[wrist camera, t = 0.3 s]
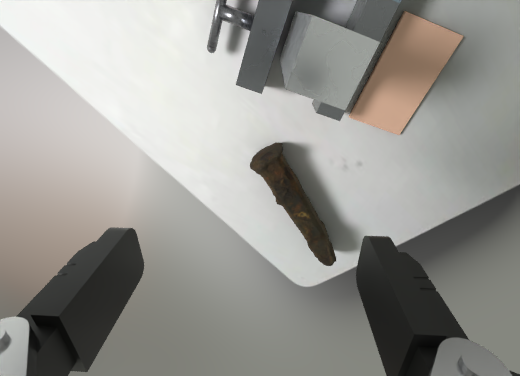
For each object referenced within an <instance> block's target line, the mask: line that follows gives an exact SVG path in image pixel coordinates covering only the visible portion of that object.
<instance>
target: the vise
mask: <svg viewBox="0 0 520 376" xmlns="http://www.w3.org/2000/svg"><path fill="white" fill-rule="evenodd" d="M226 1H227V0H217V1H216V6H215V11H214V15H213V20H212V25H211V30H210V35H209V40H208V45H207V50H208V51H209V52H210V53H214V52H215V51H216V47H217V43H218V38H219V33H220V29H221V24H222V20H223V21H225V22H228V23H231V24H233V25H236V26H238V27H241V28H244V29H246V30H249V31H250V35H249V38H248V42H247V46H246V49H245V53H244V57H243V60H242V64H241V68H240V71H239V75H238V79H237V82H236V85H238V86H241V87H243V88H246V89H249V90H252V91H255V92H258V93H261V94H262V92H263V89H264V86H265V82H266V79H267V76H268V73H269V70H270V67H271V64H272V61H273V58H274V55H275V52H276V49H277V46H278V43H279V40H280V37H281V34H282V31H283V28H284V25H285V21H286V18H287V15H288V12H289V9H290V6H291V3H292V0H259V2H258V5H257V9H256V13H255V16H254V15H251V14H249V13H246V12H244V11H241V10H239V9H236V8H234V7H231V6H228V5H226ZM400 2H401V0H357V2H356V4H355V7H354V9H353V11H352V14H351V16H350V18H349V20H348V23H347V25H346V27H345V28H346V29H349V30H351V31H354V32H356V33H359V34H361V35H364V36H366V37H369V38H371V39H374V40H376V41H379V42H380V41H381V39H382V37H383V35H384V33H385V32H386V30H387V28H388V26H389V24H390V22H391V20H392V18H393V16H394V14H395V12H396V10H397V8H398V6H399V4H400ZM312 104H313V107H314V109H315V111H316V113H318V114H321V115H324V116H327V117H330V118H333V119H336V120H338V121H340V120H341V118H342V116H343V114H344V112H345V110H343V109H340V108H337V107H334V106H331V105H329V104H326V103H323V102H320V101H317V100H314V101H313V103H312Z"/></svg>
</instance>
